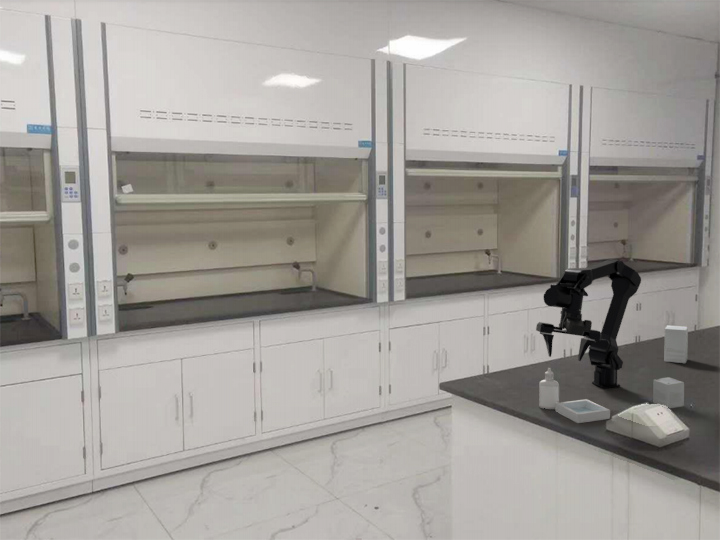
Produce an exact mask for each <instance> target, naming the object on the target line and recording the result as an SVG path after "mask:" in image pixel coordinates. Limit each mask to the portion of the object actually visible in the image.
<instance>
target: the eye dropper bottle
mask: <svg viewBox="0 0 720 540" xmlns="http://www.w3.org/2000/svg"><path fill="white" fill-rule="evenodd" d="M559 383H560V382H558V381H557V380H555V379H554V372H553V371H552V369H551V367H547V371H545V372H544V379H542V380H541V381H539V383H538V384H539V387H538V390H539V391H538V394H539V396H538V398H539V399H538V404H539V405H538V406H539V408H540V409H544V408H545V410H556V403H560V384H559Z"/></svg>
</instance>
